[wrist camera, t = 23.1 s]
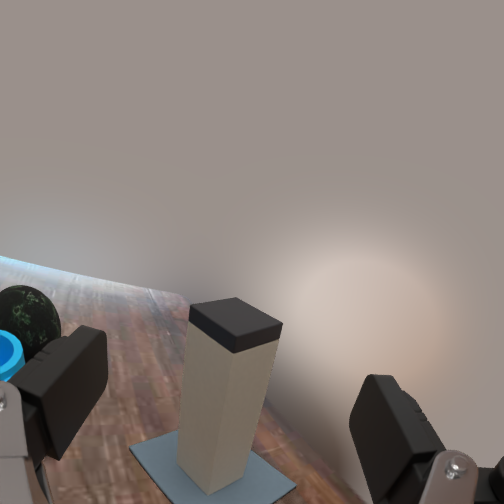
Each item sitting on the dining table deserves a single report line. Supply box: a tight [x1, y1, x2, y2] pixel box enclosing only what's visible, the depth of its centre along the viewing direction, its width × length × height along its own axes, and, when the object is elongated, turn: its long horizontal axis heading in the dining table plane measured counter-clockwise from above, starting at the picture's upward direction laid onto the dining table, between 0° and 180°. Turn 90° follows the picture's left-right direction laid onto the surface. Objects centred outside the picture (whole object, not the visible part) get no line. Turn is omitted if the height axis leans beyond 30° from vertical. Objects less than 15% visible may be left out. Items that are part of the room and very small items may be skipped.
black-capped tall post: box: [177, 297, 283, 495], centre depth 22 cm, size 4×4×16 cm
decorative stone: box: [0, 285, 61, 364], centre depth 30 cm, size 10×10×10 cm
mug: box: [0, 330, 25, 382], centre depth 20 cm, size 12×8×8 cm
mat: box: [129, 430, 297, 504], centre depth 24 cm, size 12×10×1 cm
